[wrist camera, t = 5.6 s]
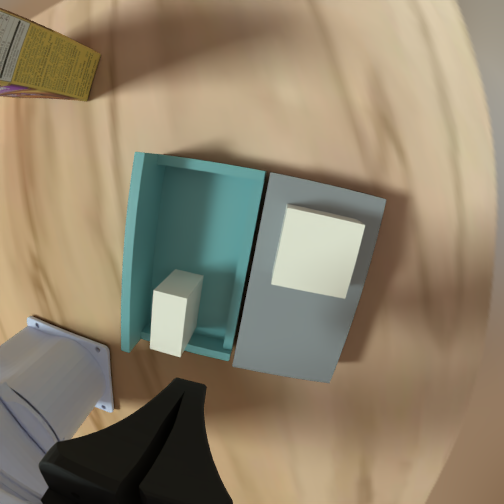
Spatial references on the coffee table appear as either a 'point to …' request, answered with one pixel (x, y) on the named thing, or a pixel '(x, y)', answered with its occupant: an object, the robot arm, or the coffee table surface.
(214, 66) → the coffee table surface
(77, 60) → the candy box
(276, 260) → the tile
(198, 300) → the tile
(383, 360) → the coffee table surface
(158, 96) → the coffee table surface
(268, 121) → the coffee table surface
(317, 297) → the grey flat block
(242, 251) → the box
